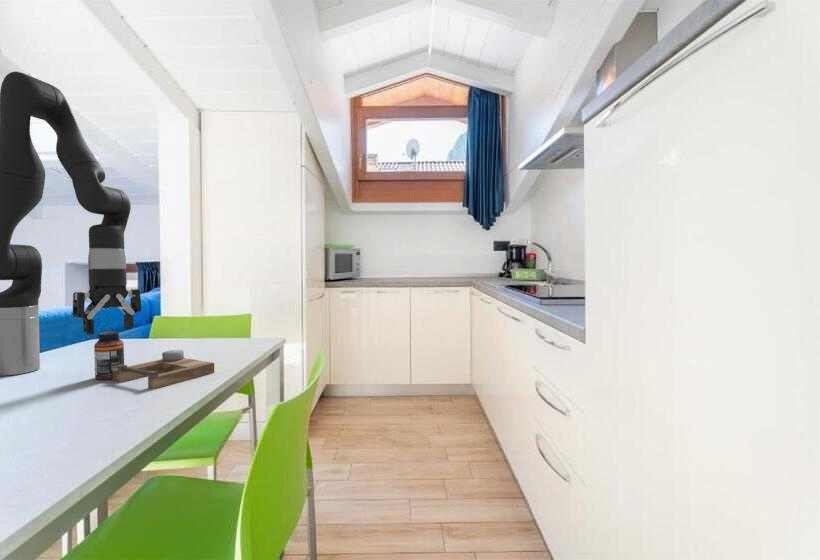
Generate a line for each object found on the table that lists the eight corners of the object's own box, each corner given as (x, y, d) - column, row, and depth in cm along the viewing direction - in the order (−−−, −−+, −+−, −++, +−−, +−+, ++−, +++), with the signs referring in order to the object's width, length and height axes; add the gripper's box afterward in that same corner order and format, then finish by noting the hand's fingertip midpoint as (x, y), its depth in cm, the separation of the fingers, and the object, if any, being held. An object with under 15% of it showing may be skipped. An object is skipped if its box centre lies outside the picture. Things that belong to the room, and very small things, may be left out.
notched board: (112, 379, 98) (111, 364, 98) (174, 365, 112) (174, 352, 112) (153, 388, 91) (152, 372, 91) (214, 372, 106) (214, 358, 105)
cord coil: (158, 360, 107) (157, 353, 107) (174, 356, 112) (174, 349, 112) (171, 362, 106) (171, 355, 105) (187, 357, 110) (187, 350, 110)
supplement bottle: (109, 373, 103) (108, 330, 103) (130, 374, 103) (129, 330, 102) (88, 380, 97) (87, 334, 97) (110, 381, 97) (109, 334, 96)
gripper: (129, 267, 107) (130, 327, 108) (65, 267, 94) (67, 335, 95) (146, 267, 104) (148, 328, 104) (82, 267, 91) (84, 337, 91)
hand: (109, 332), depth 99 cm, fingers open, 8 cm apart
